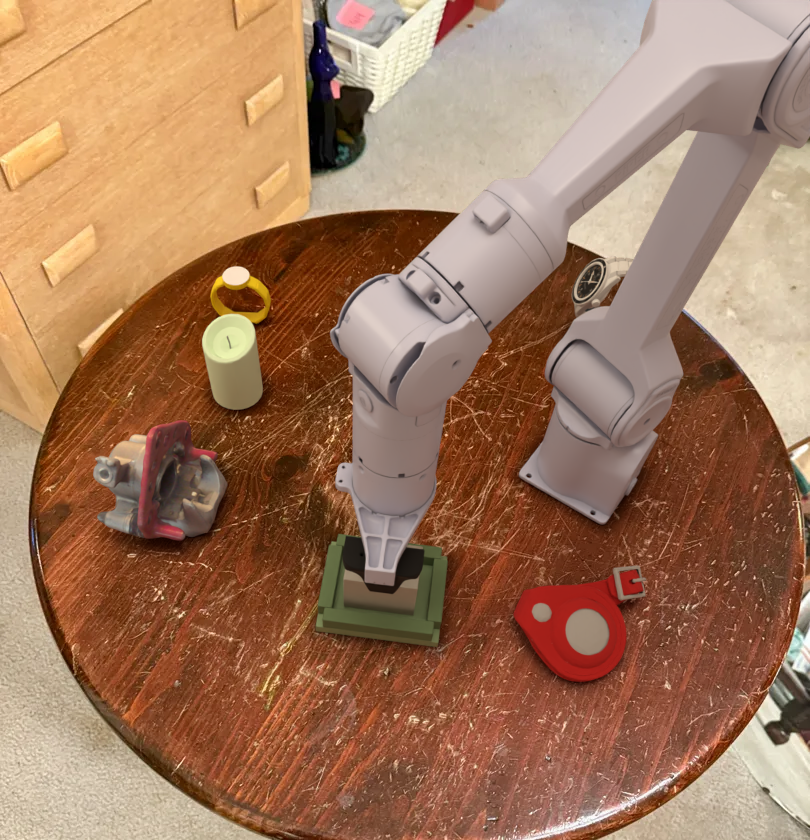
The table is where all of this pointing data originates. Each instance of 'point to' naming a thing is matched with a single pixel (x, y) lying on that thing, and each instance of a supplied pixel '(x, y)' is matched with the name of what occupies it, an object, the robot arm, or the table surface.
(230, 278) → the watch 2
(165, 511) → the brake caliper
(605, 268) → the watch
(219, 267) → the table surface
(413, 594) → the grey beige block
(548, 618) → the tracker holder
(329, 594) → the green tray
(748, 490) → the table surface
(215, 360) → the candle
